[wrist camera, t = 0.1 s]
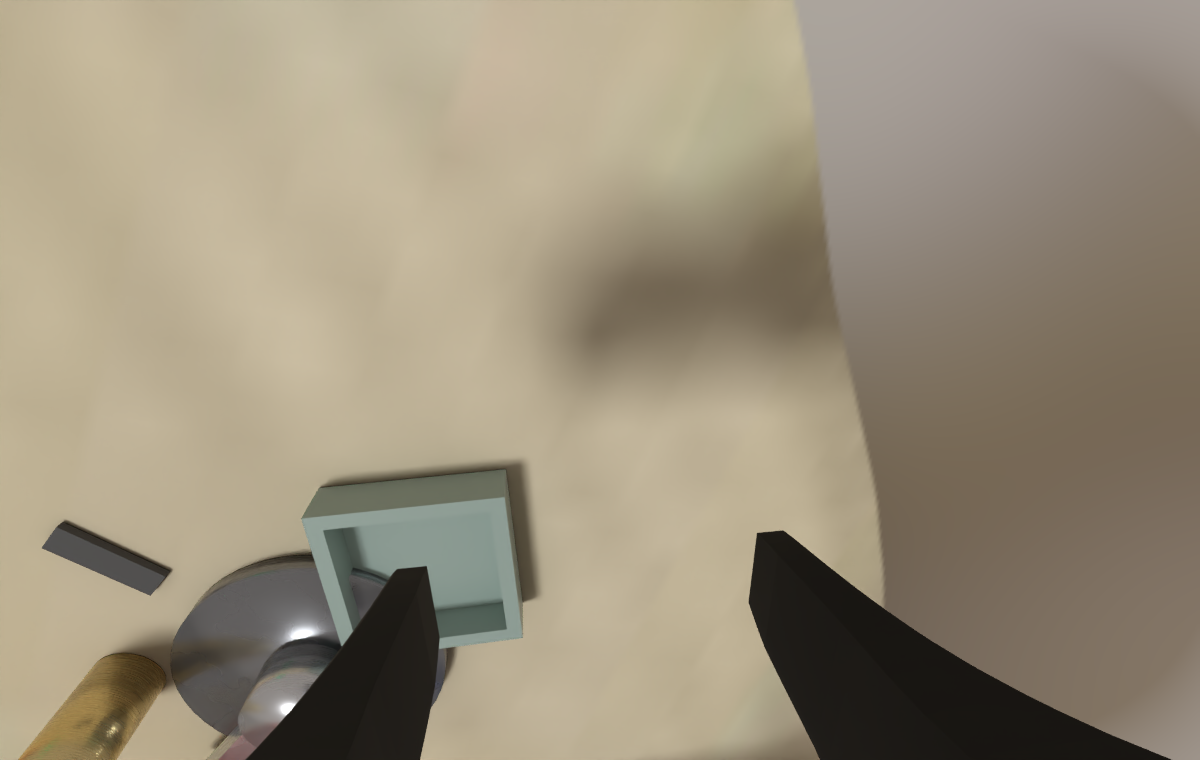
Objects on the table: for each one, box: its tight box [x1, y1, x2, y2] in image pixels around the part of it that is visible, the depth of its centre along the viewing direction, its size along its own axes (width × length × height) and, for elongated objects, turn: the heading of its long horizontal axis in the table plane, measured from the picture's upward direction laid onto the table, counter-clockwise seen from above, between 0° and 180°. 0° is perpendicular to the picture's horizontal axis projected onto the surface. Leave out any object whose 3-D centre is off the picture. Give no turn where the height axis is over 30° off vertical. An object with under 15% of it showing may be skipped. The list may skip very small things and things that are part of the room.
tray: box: [301, 469, 523, 649], centre depth 23 cm, size 7×7×2 cm
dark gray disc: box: [171, 555, 448, 736], centre depth 24 cm, size 11×11×1 cm
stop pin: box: [18, 653, 166, 760], centre depth 21 cm, size 3×3×6 cm
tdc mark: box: [42, 522, 170, 596], centre depth 21 cm, size 4×1×1 cm, turn 47°
